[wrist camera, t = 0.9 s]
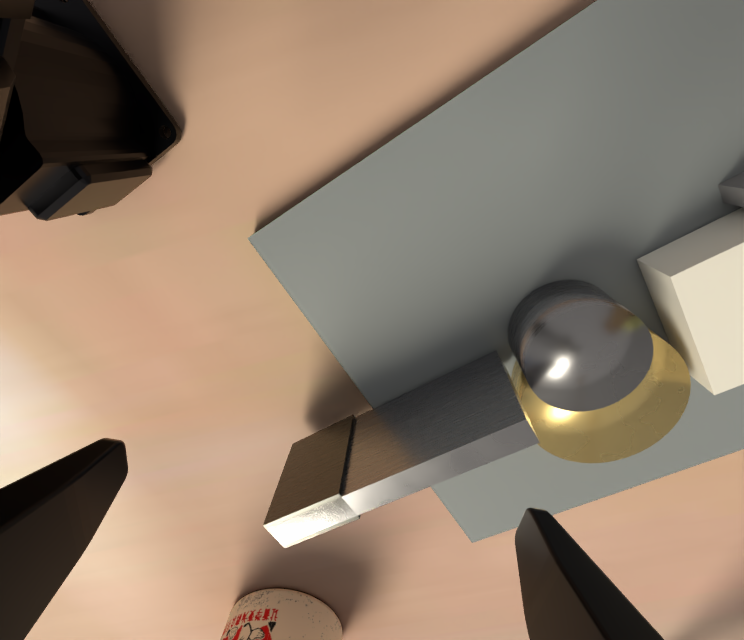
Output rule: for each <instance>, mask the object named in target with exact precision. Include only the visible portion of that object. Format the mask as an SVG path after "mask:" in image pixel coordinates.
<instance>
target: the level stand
mask: <svg viewBox="0 0 744 640" xmlns="http://www.w3.org/2000/svg"><path fill="white" fill-rule="evenodd" d="M742 207H744V0H597V1H595V2H594V3H592V4H591V5H589V6H588V7H586V8H585V9H583V10H582V11H581V12H579V13H578V14H576V15H575V16H573V17H572V18H570V19H569V20H567V21H566V22H564V23H563V24H561V25H560V26H559V27H557V28H556V29H554V30H553V31H551V32H550V33H548V34H547V35H545V36H544V37H542V38H541V39H539V40H538V41H536V42H535V43H534V44H532V45H531V46H529V47H528V48H526V49H525V50H523V51H522V52H520V53H519V54H517V55H516V56H514V57H513V58H512V59H510V60H509V61H507V62H506V63H504V64H503V65H501V66H500V67H498V68H497V69H495V70H494V71H492V72H491V73H489V74H488V75H487V76H485V77H484V78H482V79H481V80H479V81H478V82H476V83H475V84H473V85H472V86H470V87H469V88H467V89H466V90H465V91H463V92H462V93H460V94H459V95H457V96H456V97H454V98H453V99H451V100H450V101H448V102H447V103H445V104H444V105H442V106H441V107H440V108H438V109H437V110H435V111H434V112H432V113H431V114H429V115H428V116H426V117H425V118H423V119H422V120H420V121H419V122H418V123H416V124H415V125H413V126H412V127H410V128H409V129H407V130H406V131H404V132H403V133H401V134H400V135H398V136H397V137H395V138H394V139H393V140H391V141H390V142H388V143H387V144H385V145H384V146H382V147H381V148H379V149H378V150H376V151H375V152H373V153H372V154H371V155H369V156H368V157H366V158H365V159H363V160H362V161H360V162H359V163H357V164H356V165H354V166H353V167H351V168H350V169H348V170H347V171H346V172H344V173H343V174H341V175H340V176H338V177H337V178H335V179H334V180H332V181H331V182H329V183H328V184H326V185H325V186H324V187H322V188H321V189H319V190H318V191H316V192H315V193H313V194H312V195H310V196H309V197H307V198H306V199H304V200H303V201H301V202H300V203H299V204H297V205H296V206H294V207H293V208H291V209H290V210H288V211H287V212H285V213H284V214H282V215H281V216H279V217H278V218H277V219H275V220H274V221H272V222H271V223H269V224H268V225H266V226H265V227H263V228H262V229H260V230H259V231H257V232H256V233H254V234H253V235H252V236H250V237H249V238H248V240H249V241H250V242H251V244H252V245H253V246H254V248H255V249H256V251H257V252H258V253H259V255H260V256H261V257H262V259H263V260H264V261H265V263H266V264H267V265H268V267H269V268H270V270H271V271H272V272H273V274H274V275H275V276H276V278H277V279H278V280H279V282H280V283H281V284H282V286H283V287H284V288H285V290H286V291H287V293H288V294H289V295H290V297H291V298H292V299H293V301H294V302H295V303H296V305H297V306H298V307H299V309H300V310H301V312H302V313H303V314H304V316H305V317H306V318H307V320H308V321H309V322H310V324H311V325H312V326H313V328H314V329H315V330H316V332H317V333H318V335H319V336H320V337H321V339H322V340H323V341H324V343H325V344H326V345H327V347H328V348H329V349H330V351H331V352H332V354H333V355H334V356H335V358H336V359H337V360H338V362H339V363H340V364H341V366H342V367H343V368H344V370H345V371H346V373H347V374H348V375H349V377H350V378H351V379H352V381H353V382H354V383H355V385H356V386H357V387H358V389H359V390H360V391H361V393H362V394H363V396H364V397H365V398H366V400H367V401H368V402H369V404H370V405H371V406H372V408H373V409H374V408H376V407H378V406H380V405H382V404H384V403H387V402H389V401H391V400H393V399H395V398H397V397H399V396H401V395H403V394H405V393H407V392H410V391H412V390H414V389H416V388H418V387H420V386H422V385H424V384H426V383H428V382H430V381H433V380H435V379H437V378H439V377H441V376H443V375H445V374H447V373H449V372H451V371H453V370H456V369H458V368H460V367H462V366H464V365H466V364H468V363H470V362H472V361H474V360H476V359H478V358H481V357H483V356H485V355H487V354H489V353H491V352H493V351H495V350H496V351H497V353H498V354H499V356H500V358H501V360H502V361H503V363H504V365H505V367H506V368H507V370H508V373H509V375H510V377H511V375H512V370H513V367H514V364H515V361H516V358H515V356H514V354H513V352H512V350H511V348H510V345H509V342H508V326H509V322H510V319H511V316H512V314H513V312H514V310H515V309H516V307H517V306H518V304H519V303H520V302H521V301H522V300H523V299H524V298H525V297H526V296H527V295H528V294H530V293H531V292H532V291H534V290H536V289H537V288H539V287H541V286H543V285H545V284H548V283H551V282H554V281H560V280H580V281H585V282H588V283H591V284H593V285H595V286H597V287H598V288H600V289H601V290H603V291H604V292H605V293H607V294H608V295H609V296H611V297H612V298H613V299H615V300H616V301H617V302H619V303H620V304H621V305H622V306H624V307H625V308H626V309H628V310H629V311H630V312H632V313H633V314H634V315H636V316H637V317H638V318H639V319H640V320H641V321H642V322H643V323H644V324H645V325H646V327H648V328H649V329H650V330H652V331H653V332H654V333H655V334H657V335H658V336H659V337H661V338H662V339H663V340H665V341H666V342H667V343H668V344H670V343H669V340H668V337H667V335H666V332H665V330H664V327H663V325H662V322H661V320H660V317H659V315H658V312H657V310H656V307H655V305H654V302H653V300H652V297H651V295H650V292H649V290H648V287H647V285H646V282H645V280H644V277H643V275H642V272H641V269H640V267H639V264H638V262H637V259H638V258H641V257H643V256H645V255H647V254H649V253H651V252H653V251H655V250H657V249H659V248H661V247H663V246H665V245H667V244H669V243H671V242H673V241H675V240H677V239H679V238H681V237H683V236H685V235H687V234H689V233H691V232H693V231H695V230H697V229H699V228H701V227H703V226H705V225H707V224H709V223H711V222H713V221H715V220H717V219H719V218H721V217H724V216H726V215H728V214H730V213H732V212H734V211H736V210H738V209H740V208H742ZM690 381H691V390H690V396H689V400H688V404H687V406H686V409H685V411H684V413H683V414H682V416H681V418H680V420H679V421H678V422H677V424H676V425H675V426H674V427H673V428H672V429H671V430H670V432H669V433H668V434H667V435H665V436H664V437H663V438H662V439H661V440H659V441H658V442H657V443H655V444H654V445H652V446H651V447H649V448H647V449H645V450H643V451H642V452H640V453H637V454H635V455H632V456H630V457H627V458H624V459H620V460H616V461H611V462H604V463H579V462H573V461H569V460H565V459H562V458H559V457H557V456H554V455H552V454H550V453H549V452H547V451H545V450H544V449H543V448H541V447H540V446H539V445H538V444H535V445H533V446H530V447H528V448H525V449H523V450H520V451H518V452H515V453H513V454H510V455H508V456H505V457H503V458H500V459H498V460H495V461H493V462H490V463H488V464H485V465H483V466H480V467H478V468H475V469H473V470H470V471H468V472H465V473H463V474H460V475H458V476H455V477H453V478H450V479H448V480H445V481H443V482H440V483H438V484H435V485H433V486H431V488H432V489H433V490H434V492H435V493H436V494H437V496H438V497H439V499H440V500H441V501H442V503H443V504H444V505H445V507H446V508H447V509H448V511H449V512H450V513H451V515H452V516H453V517H454V519H455V520H456V522H457V523H458V524H459V526H460V527H461V528H462V530H463V531H464V532H465V534H466V535H467V536H468V538H469V539H470V541H471V542H472V543H473V542H476V541H479V540H482V539H485V538H488V537H491V536H493V535H496V534H499V533H502V532H505V531H508V530H511V529H514V528H517V527H518V526H519V524H520V521H521V519H522V517H523V515H524V512H525V511H526V509H527V508H530V507H531V508H537V509H543V510H546V511H548V512H549V513H550V514H551V515H554V514H557V513H560V512H563V511H566V510H569V509H571V508H574V507H577V506H580V505H583V504H586V503H589V502H592V501H595V500H597V499H600V498H603V497H606V496H609V495H612V494H615V493H618V492H621V491H623V490H626V489H629V488H632V487H635V486H638V485H641V484H644V483H647V482H649V481H652V480H655V479H658V478H661V477H664V476H667V475H670V474H673V473H675V472H678V471H681V470H684V469H687V468H690V467H693V466H696V465H699V464H702V463H704V462H707V461H710V460H713V459H716V458H719V457H722V456H725V455H728V454H730V453H733V452H736V451H739V450H742V449H744V384H743V385H740V386H737V387H735V388H732V389H730V390H727V391H724V392H722V393H719V394H717V395H713V394H712V393H711V392H710V391H709V390H707V389H706V388H705V387H704V386H702V385H701V384H700V383H699V382H698V381H696V380H695V379H694V378H693V377H692V376H690Z"/></svg>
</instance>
